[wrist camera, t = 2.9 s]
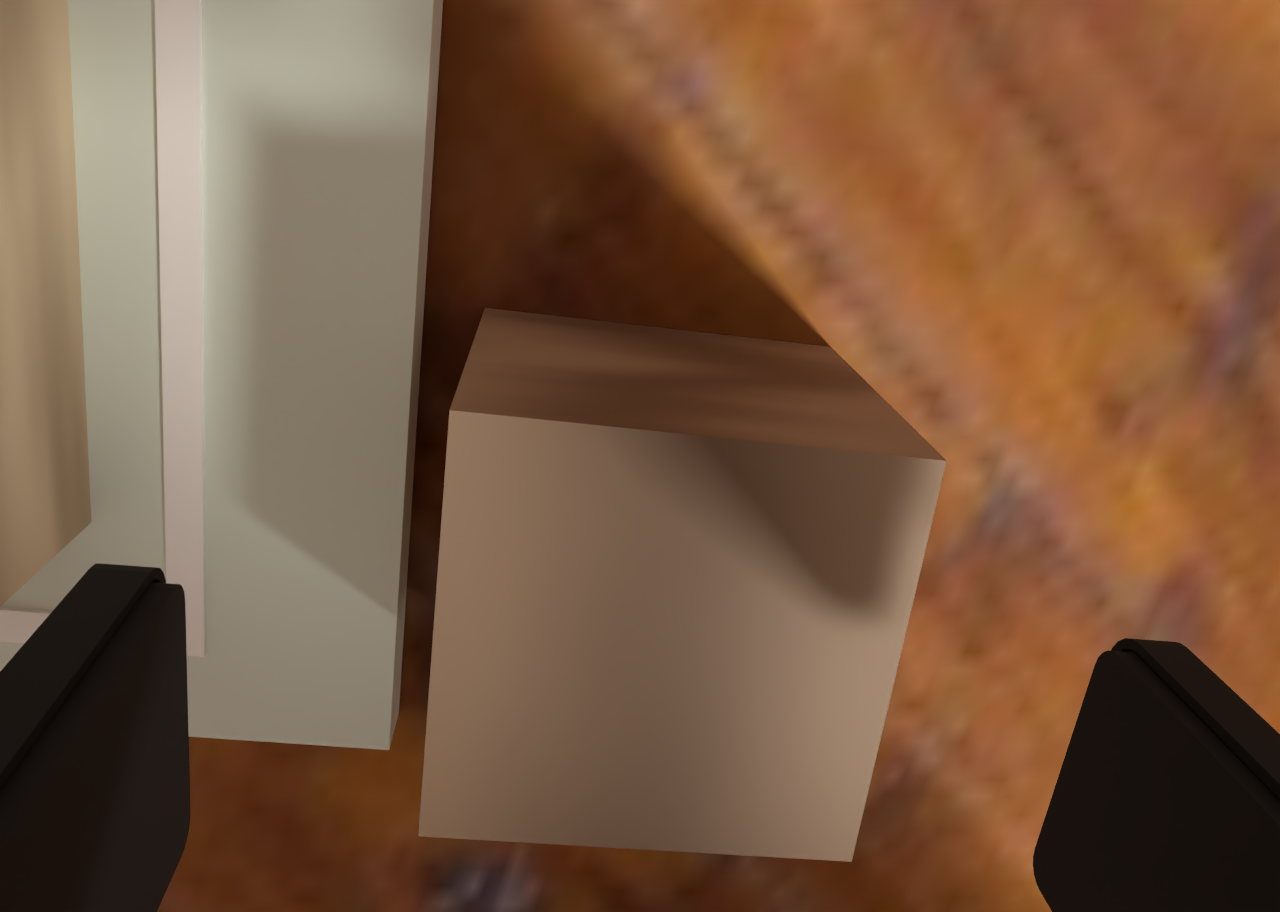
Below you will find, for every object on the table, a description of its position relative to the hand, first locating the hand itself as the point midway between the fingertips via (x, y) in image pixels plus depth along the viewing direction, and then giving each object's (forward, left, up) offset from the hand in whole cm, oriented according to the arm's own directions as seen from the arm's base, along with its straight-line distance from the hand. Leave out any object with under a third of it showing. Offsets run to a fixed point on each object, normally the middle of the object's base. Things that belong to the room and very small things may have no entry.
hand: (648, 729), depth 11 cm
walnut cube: (-1, +1, -9) cm, 9 cm away
